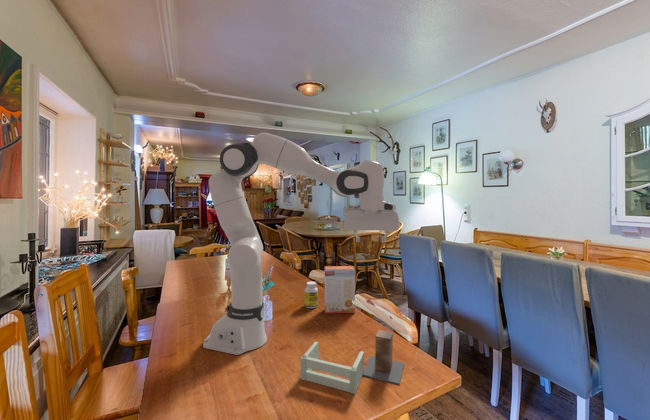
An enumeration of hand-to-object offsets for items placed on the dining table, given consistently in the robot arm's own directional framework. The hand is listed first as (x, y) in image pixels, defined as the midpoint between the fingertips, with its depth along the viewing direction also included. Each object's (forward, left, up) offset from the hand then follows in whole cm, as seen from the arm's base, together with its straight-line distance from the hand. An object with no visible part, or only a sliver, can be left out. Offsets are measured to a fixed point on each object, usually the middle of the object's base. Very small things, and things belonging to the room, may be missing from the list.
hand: (370, 242), depth 107 cm
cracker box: (-13, +24, -37) cm, 46 cm away
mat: (+4, -19, -37) cm, 42 cm away
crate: (-12, -24, -37) cm, 46 cm away
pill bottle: (-27, +28, -37) cm, 54 cm away
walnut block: (+4, -19, -37) cm, 41 cm away
